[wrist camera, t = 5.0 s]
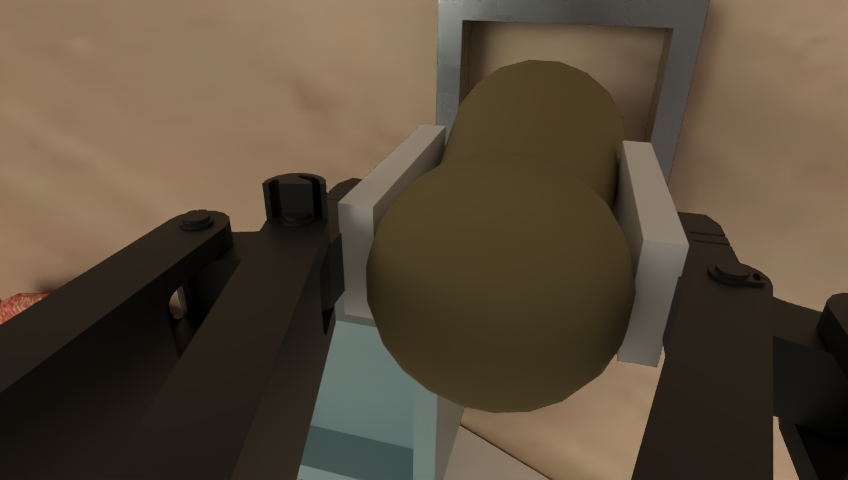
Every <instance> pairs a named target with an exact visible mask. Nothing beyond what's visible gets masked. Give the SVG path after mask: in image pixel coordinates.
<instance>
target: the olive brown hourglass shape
mask: <svg viewBox="0 0 848 480" xmlns="http://www.w3.org/2000/svg"><path fill="white" fill-rule="evenodd" d="M622 141H626V137H625V130H624V124H623V117H622V116H621V114H620V112H619V110H618V108H617V106H616V105H615V103H614V101H613V99H612V97H611V95H610V94H609V92H608V91H607V90H606V89H604V88H603V87H602V86H601V85H600V84H599V83H598V82H597V81H595V80H594V79H593V78H592V77H591V76H590V75H589V74H588V73H586V72H583V71H581V70H578V69H576V68H574V67H571V66H569V65H566V64H564V63H561V62H555V61H539V60H528V61H524V62H520V63H516V64H513V65H509V66H505V67H501V68H500V69H498V70H497V71H495V72H494V73H492V74H491V75H489V76H488V77H486V78H484V79H483V80H481V81H480V82H478V83H477V84H476V85H475V87H474V88H473V89H472V90H471V92H470V93H469V94H468V95H467V97H466V98H465V99H464V100H463V102H462V103H461V104H460V106H459V109H458V112H457V114H456V117H455V120H454V122H453V125H452V127H451V130H450V133H449V136H448V139H447V143H446V146H445V150H444V152H443V155H442V158H441V161H440V164H439V166H437V167H436V168H434V169H432V170H430V171H429V172H427V173H425V174H424V175H422V176H420V177H419V178H417V179H415V180H414V181H412V183H411V184H410V185H409V186H408V187H407V188H406V189H405V190H404V192H403V193H402V194H401V195H400V196H399V198H398V199H397V200H396V201H395V203H394V204H393V205H392V206H391V207H390V209H389V210H388V211H387V212H386V213H385V215H384V216H383V217H382V218H381V220H380V223H379V225H378V228H377V231H376V234H375V237H374V240H373V243H372V246H371V249H370V252H369V256H368V260H367V265H366V287H367V302H368V305H369V308H370V311H371V313H372V316H373V319H374V321H375V324H376V327H377V330H378V332H379V335H380V338H381V340H382V343H383V345H384V346H385V347H386V349H387V350H388V351H389V353H390V354H391V355H392V357H393V358H394V359H395V361H396V362H397V363H398V365H399V366H400V367H401V369H402V370H403V371H404V372H406V373H407V374H408V375H409V376H411V377H412V378H413V379H414V380H416V381H417V382H418V383H419V384H421V385H422V386H423V387H424V388H426V389H427V390H428V391H430V392H432V393H434V394H436V395H439V396H441V397H443V398H445V399H447V400H449V401H451V402H454V403H456V404H458V405H460V406H465V407H469V408H474V409H479V410H484V411H489V412H493V413H501V412H529V411H533V410H536V409H539V408H542V407H545V406H549V405H552V404H555V403H558V402H561V401H563V400H565V399H566V398H567V397H569V396H570V395H572V394H573V393H575V392H576V391H577V390H579V389H580V388H582V387H583V386H585V385H586V384H588V383H589V382H590V381H592V380H593V379H595V378H596V377H598V376H599V375H600V374H602V372H603V371H604V370H605V368H606V367H607V365H608V364H609V362H610V361H611V360H612V358H613V357H614V355H615V354H616V353H617V351H618V350H619V348H620V347H621V345H622V344H623V341H624V338H625V335H626V332H627V329H628V325H629V321H630V317H631V312H632V308H633V304H634V300H635V295H636V288H635V282H634V276H633V270H632V263H631V257H630V251H629V246H628V241H627V238H626V236H625V234H624V233H623V231H622V229H621V227H620V226H619V224H618V222H617V220H616V219H615V217H614V215H613V213H612V208H613V203H614V198H615V193H616V188H617V182H618V163H619V158H620V152H621V147H622Z"/></svg>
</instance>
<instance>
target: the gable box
mask: <svg viewBox="0 0 848 480" xmlns="http://www.w3.org/2000/svg"><path fill="white" fill-rule="evenodd" d="M443 480H549V479H548V478H546V477H544V476H543V475H541V474H539V473H538V472H536V471H534V470H533V469H531V468H529V467H528V466H526V465H524V464H523V463H521V462H520V461H518V460H516V459H515V458H513V457H511V456H510V455H508V454H506V453H505V452H503V451H501V450H500V449H498V448H496V447H495V446H493V445H491V444H490V443H488V442H486V441H485V440H483V439H482V438H480V437H478V436H477V435H475V434H473V433H472V432H470V431H468V430H467V429H465V428H463V427H462V426H460V425H459V428H458V432H457V435H456V438H455V442H454V445H453V448H452V452H451V455H450V459H449V462H448V465H447V469H446V472H445V475H444V479H443Z"/></svg>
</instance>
